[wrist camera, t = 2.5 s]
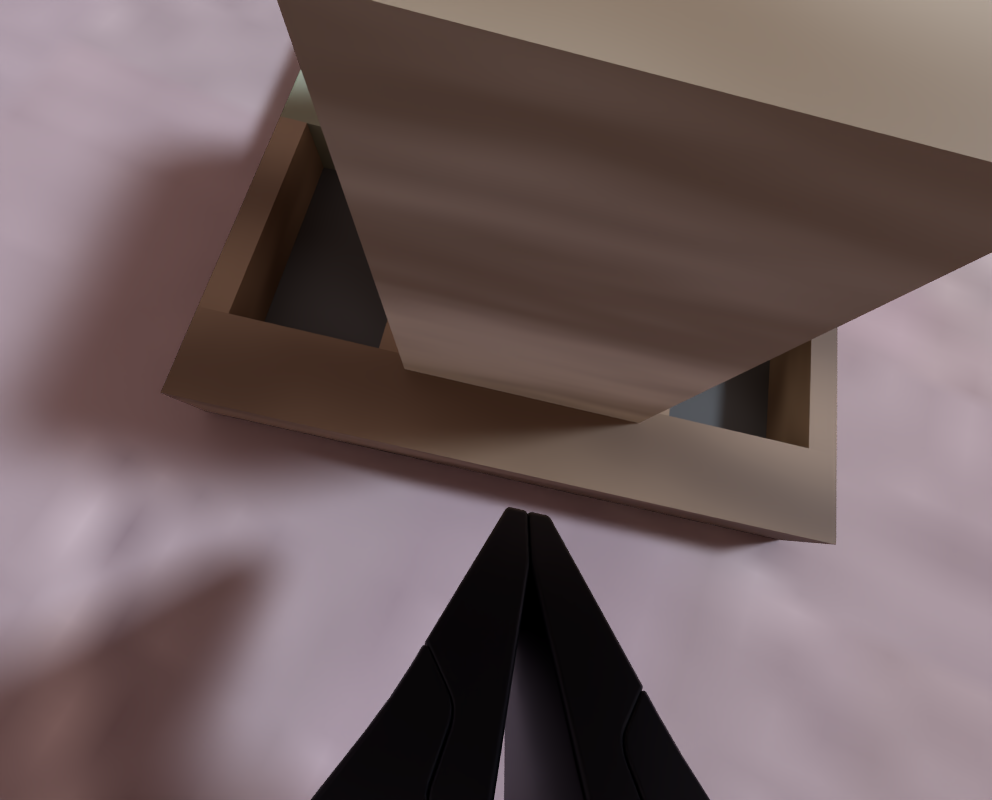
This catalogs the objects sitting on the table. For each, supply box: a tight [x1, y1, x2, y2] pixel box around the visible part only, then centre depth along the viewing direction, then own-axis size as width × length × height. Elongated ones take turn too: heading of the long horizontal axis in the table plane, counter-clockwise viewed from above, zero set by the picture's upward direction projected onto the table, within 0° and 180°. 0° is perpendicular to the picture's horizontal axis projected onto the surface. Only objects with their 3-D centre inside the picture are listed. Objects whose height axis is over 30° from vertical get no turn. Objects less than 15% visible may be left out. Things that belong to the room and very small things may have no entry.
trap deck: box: [161, 70, 837, 545], centre depth 17 cm, size 25×22×6 cm
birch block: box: [277, 0, 992, 423], centre depth 11 cm, size 12×8×11 cm, turn 168°
